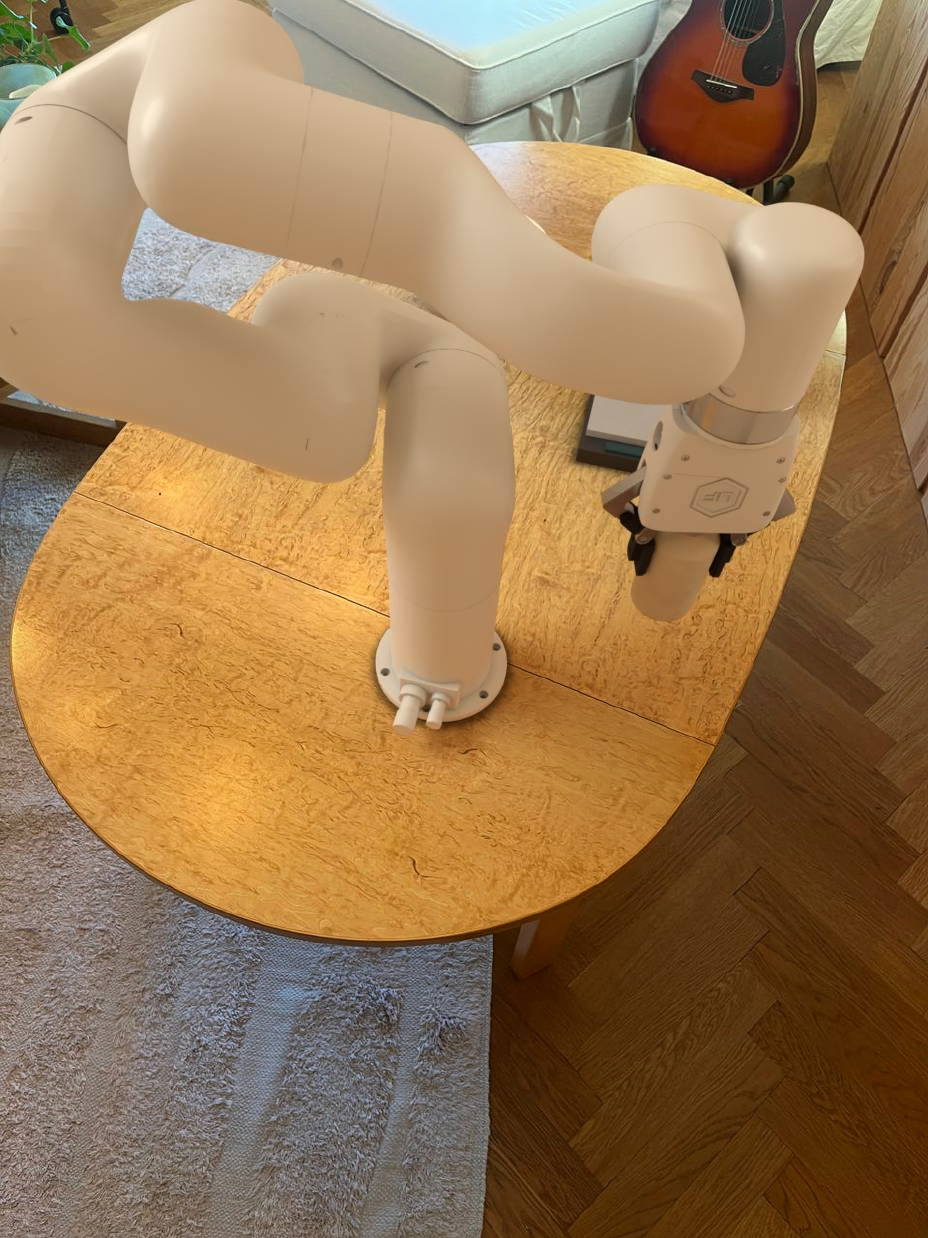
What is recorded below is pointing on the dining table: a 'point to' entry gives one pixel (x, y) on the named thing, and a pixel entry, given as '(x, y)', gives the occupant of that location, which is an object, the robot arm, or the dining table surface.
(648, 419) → the scale
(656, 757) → the dining table surface
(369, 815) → the dining table surface
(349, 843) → the dining table surface
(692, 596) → the candle
